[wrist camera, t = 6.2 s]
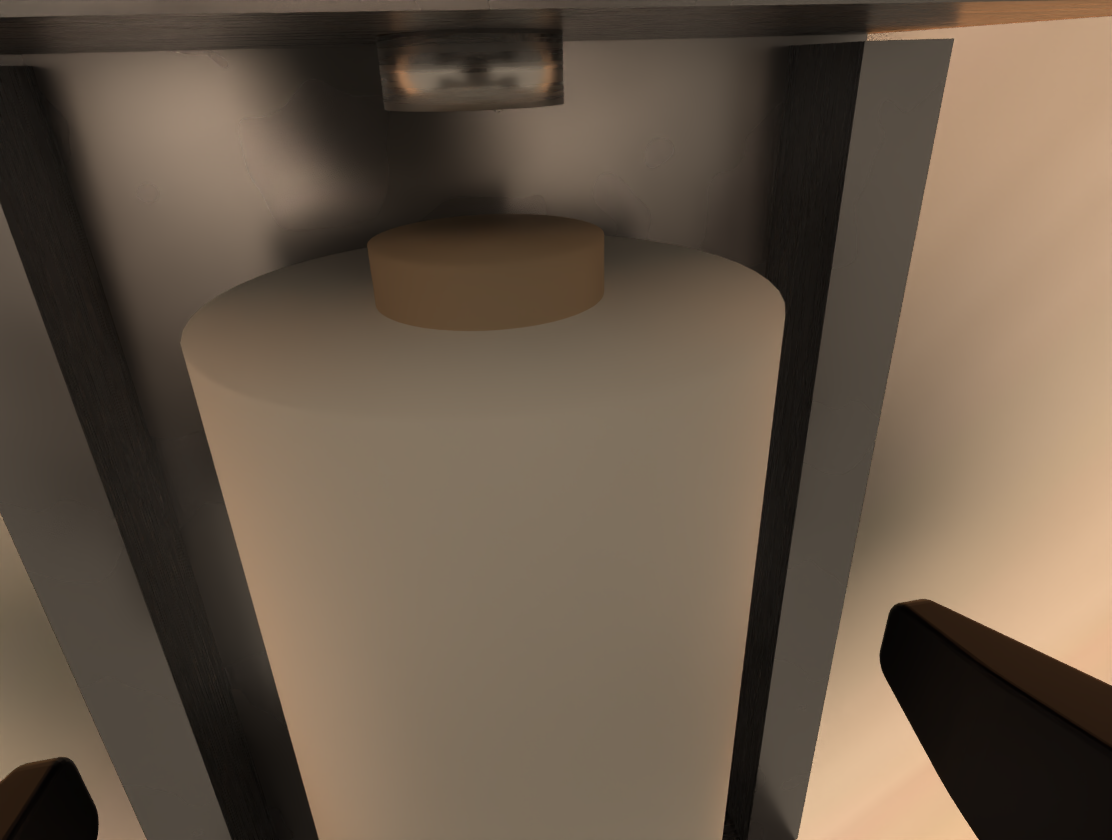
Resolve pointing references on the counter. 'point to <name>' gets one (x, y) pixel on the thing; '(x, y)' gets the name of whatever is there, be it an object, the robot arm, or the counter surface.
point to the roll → (499, 521)
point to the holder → (399, 199)
